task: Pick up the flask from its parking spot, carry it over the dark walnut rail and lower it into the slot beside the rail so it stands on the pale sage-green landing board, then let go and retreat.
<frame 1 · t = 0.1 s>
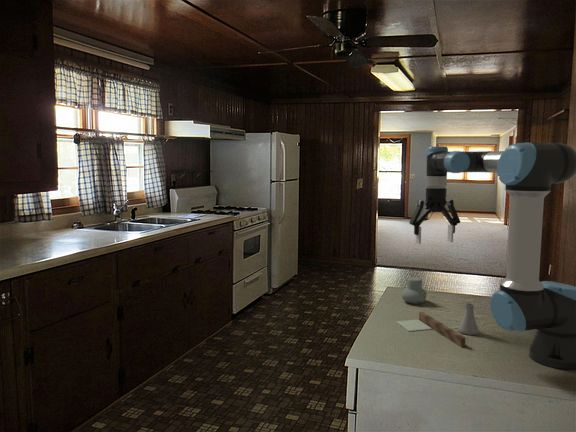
hand: (434, 242, 190), 28 cm above the kitchen island, fingers open, 13 cm apart
landing board: (413, 325, 179), on the kitchen island
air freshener: (414, 302, 208), on the kitchen island
rail: (426, 333, 171), on the kitchen island
flask: (468, 332, 173), on the kitchen island
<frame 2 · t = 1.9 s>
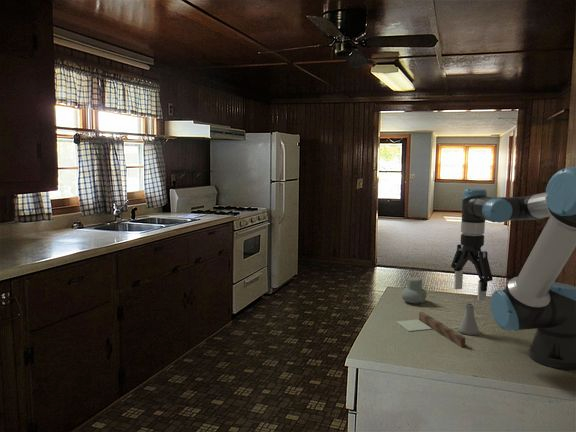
hand: (469, 294, 171), 13 cm above the kitchen island, fingers open, 13 cm apart
nothing on the kitchen island moved.
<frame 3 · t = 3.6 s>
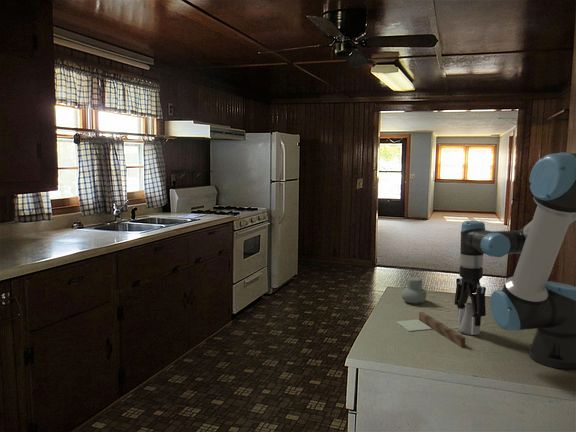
hand: (468, 330, 173), 1 cm above the kitchen island, fingers closed on flask, 7 cm apart
flask: (468, 332, 173), on the kitchen island, touching gripper
everything else where it was.
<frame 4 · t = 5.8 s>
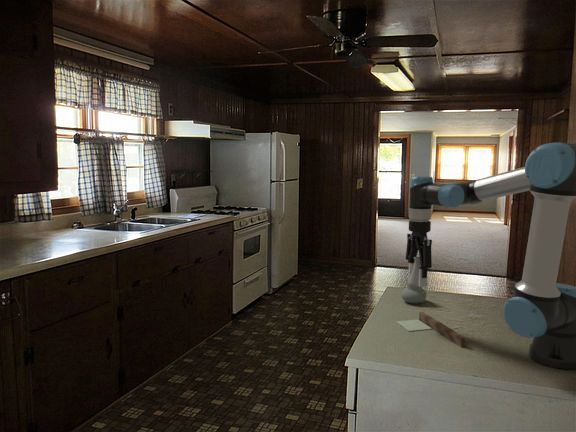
hand: (417, 283, 177), 16 cm above the kitchen island, fingers closed on flask, 7 cm apart
flask: (417, 285, 177), point 15 cm above the kitchen island, touching gripper
everything else where it was.
when the fingers open (2 cm above the kitchen island, at t = 8.0 s): flask stays where it is, resting on landing board.
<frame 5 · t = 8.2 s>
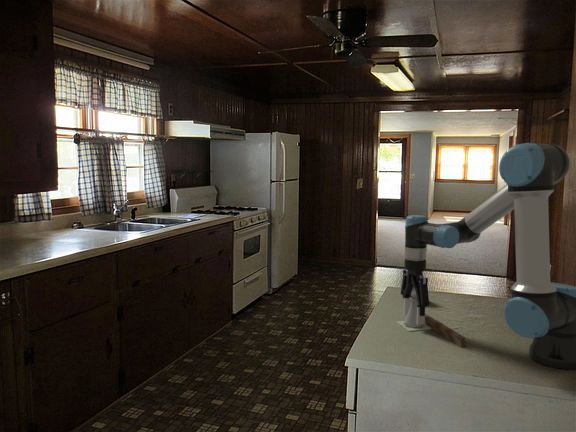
hand: (413, 319, 179), 2 cm above the kitchen island, fingers open, 9 cm apart
flask: (413, 325, 179), resting on landing board
everything else where it was.
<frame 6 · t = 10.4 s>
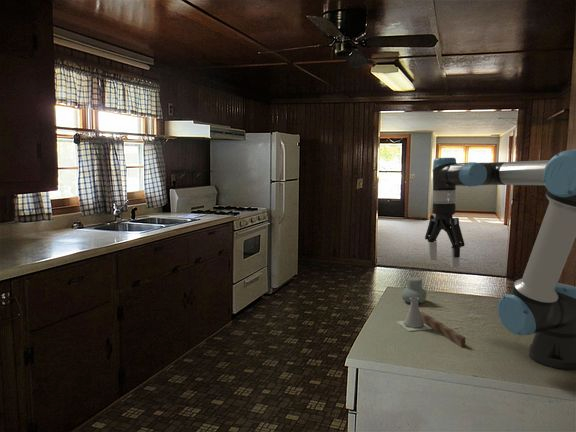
hand: (443, 263, 173), 24 cm above the kitchen island, fingers open, 13 cm apart
nothing on the kitchen island moved.
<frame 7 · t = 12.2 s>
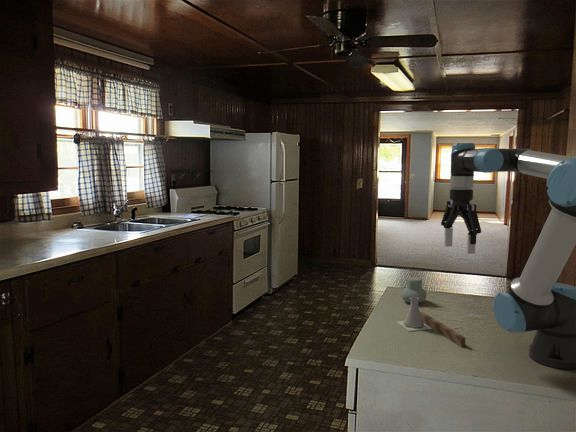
hand: (459, 249, 171), 29 cm above the kitchen island, fingers open, 13 cm apart
nothing on the kitchen island moved.
at the end: flask inside the target area (0.1 cm from its centre), resting on landing board; flask tilted 0°; the gripper is holding nothing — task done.
